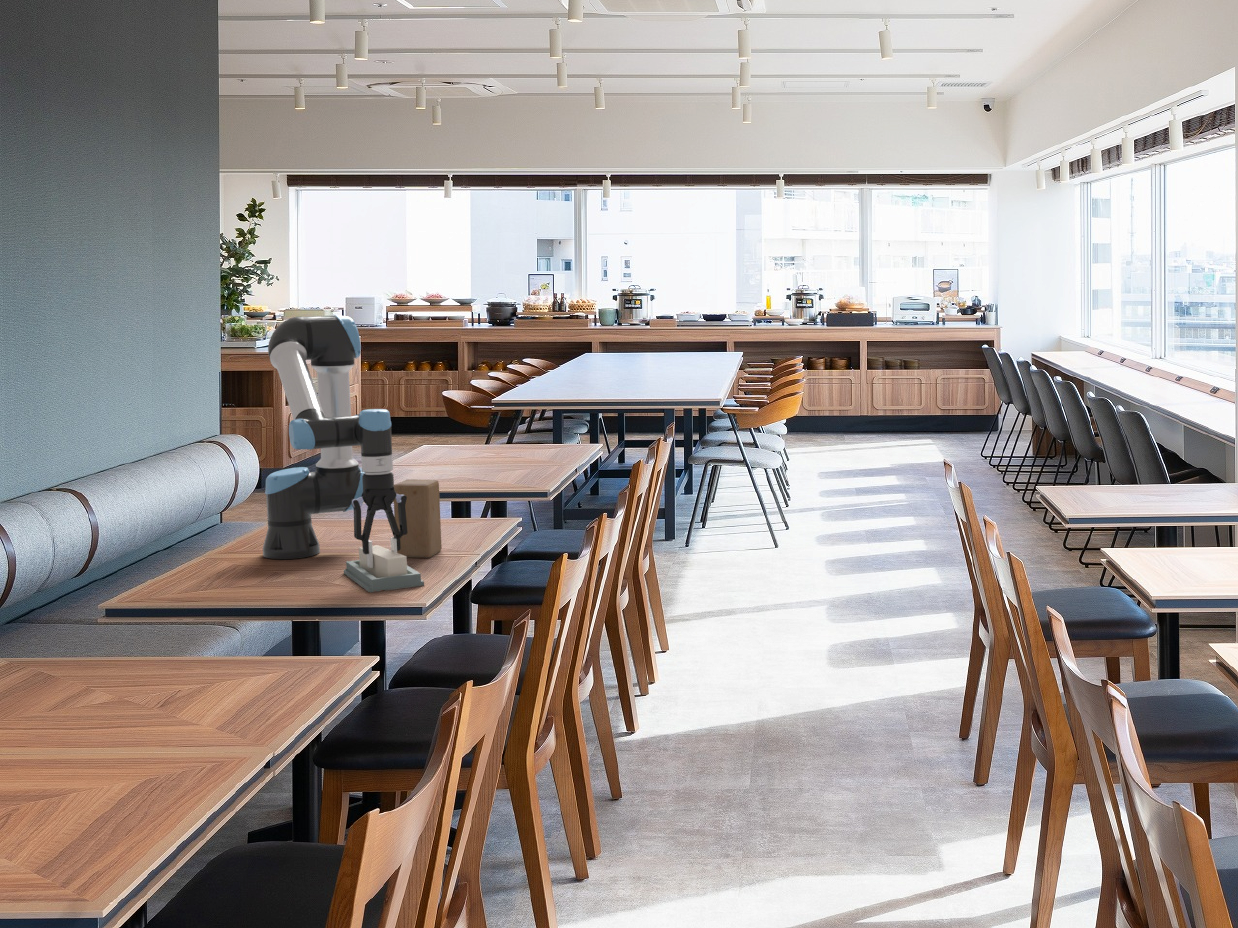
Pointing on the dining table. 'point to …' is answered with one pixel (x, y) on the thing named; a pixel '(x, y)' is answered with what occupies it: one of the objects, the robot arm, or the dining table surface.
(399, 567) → the cream rectangular bar
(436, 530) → the wooden block
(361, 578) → the tray
